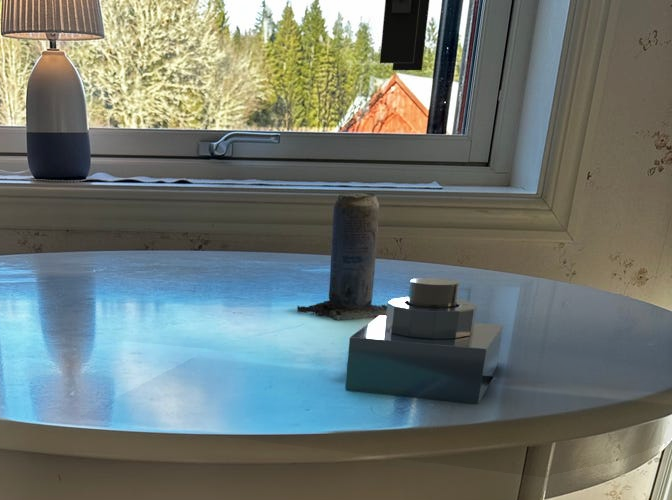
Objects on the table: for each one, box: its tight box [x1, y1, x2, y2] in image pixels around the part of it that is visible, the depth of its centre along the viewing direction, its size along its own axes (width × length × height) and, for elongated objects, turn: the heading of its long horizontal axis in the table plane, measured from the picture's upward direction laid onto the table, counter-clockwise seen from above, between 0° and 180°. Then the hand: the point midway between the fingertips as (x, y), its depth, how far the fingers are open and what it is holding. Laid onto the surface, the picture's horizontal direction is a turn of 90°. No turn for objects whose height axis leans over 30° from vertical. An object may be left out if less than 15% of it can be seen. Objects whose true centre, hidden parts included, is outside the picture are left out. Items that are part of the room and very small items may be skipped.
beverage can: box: [296, 192, 387, 321], centre depth 96 cm, size 9×8×12 cm
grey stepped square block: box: [344, 296, 504, 405], centre depth 74 cm, size 10×10×6 cm
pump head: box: [408, 277, 460, 309], centre depth 72 cm, size 4×4×2 cm
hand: (402, 67), depth 85 cm, fingers open, 13 cm apart
